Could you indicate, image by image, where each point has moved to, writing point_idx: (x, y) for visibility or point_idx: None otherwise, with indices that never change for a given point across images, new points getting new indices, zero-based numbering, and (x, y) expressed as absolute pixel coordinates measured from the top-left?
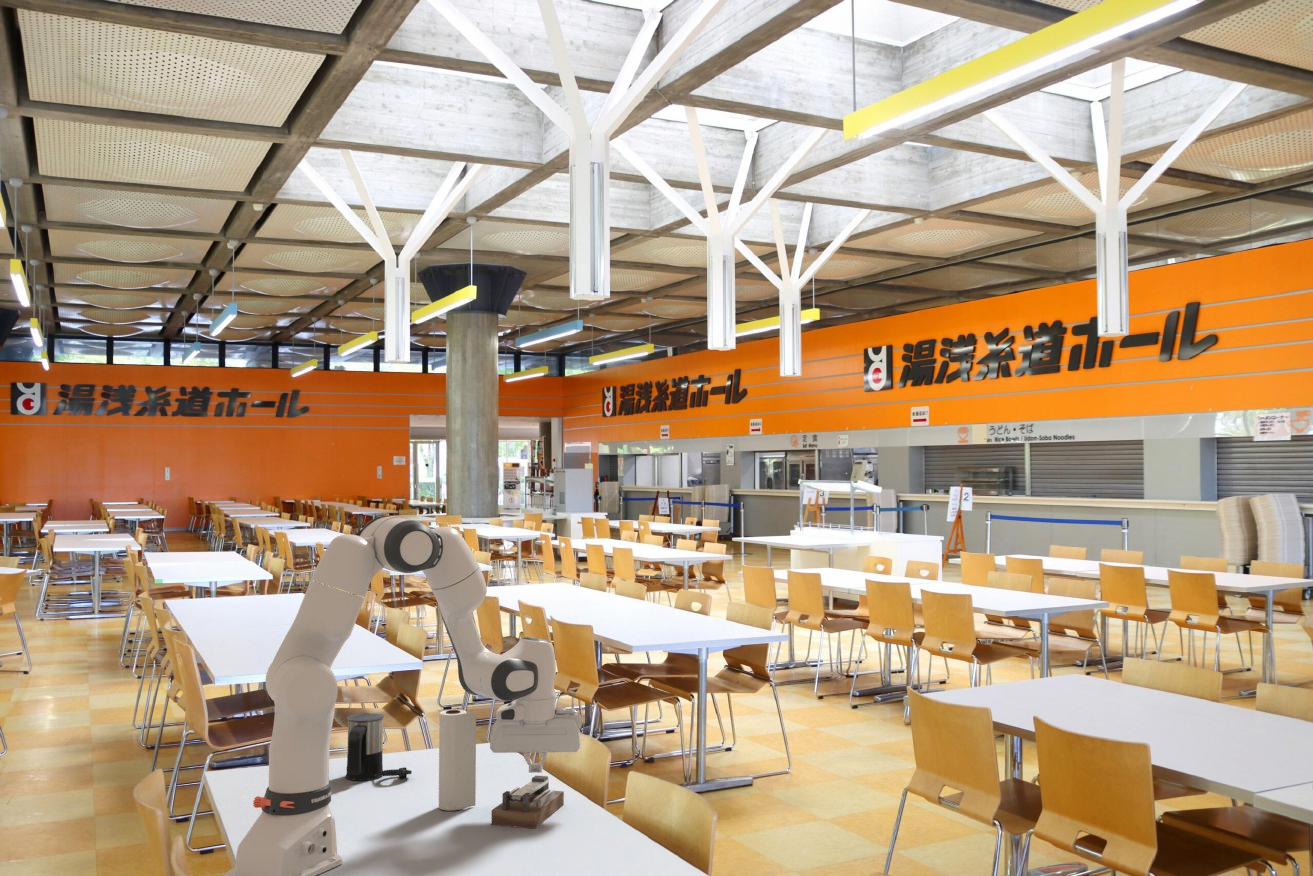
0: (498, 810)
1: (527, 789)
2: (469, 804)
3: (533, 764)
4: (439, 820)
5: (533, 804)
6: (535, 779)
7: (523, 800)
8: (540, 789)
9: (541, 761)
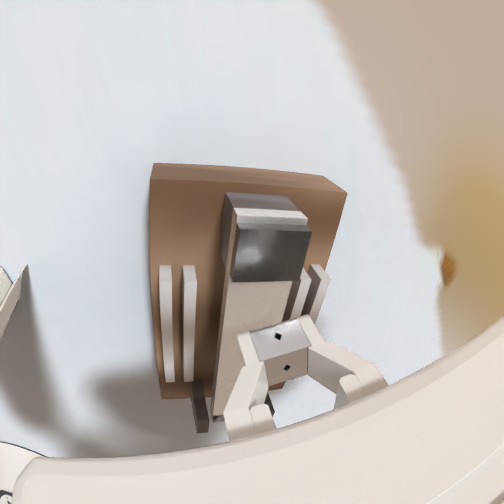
0: (180, 397)
1: None
2: (17, 283)
3: (277, 378)
4: (33, 365)
5: None
6: (252, 279)
7: None
8: None
9: (329, 385)
